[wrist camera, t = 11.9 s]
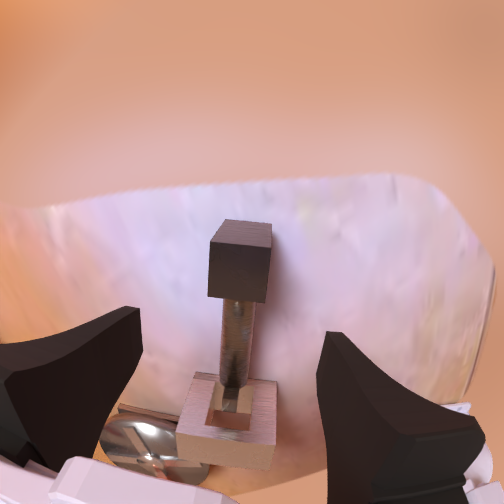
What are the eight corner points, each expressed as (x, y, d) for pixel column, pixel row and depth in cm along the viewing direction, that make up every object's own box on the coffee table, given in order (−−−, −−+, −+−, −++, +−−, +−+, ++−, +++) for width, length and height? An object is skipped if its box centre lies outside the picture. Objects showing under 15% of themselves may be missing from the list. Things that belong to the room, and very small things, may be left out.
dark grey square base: (196, 419, 24) (192, 433, 23) (198, 463, 26) (195, 475, 25) (119, 403, 25) (113, 415, 23) (131, 448, 27) (126, 459, 25)
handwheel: (85, 410, 23) (65, 441, 19) (188, 412, 22) (175, 453, 18) (140, 484, 26) (130, 513, 22) (229, 489, 25) (224, 523, 21)
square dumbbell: (271, 223, 18) (271, 247, 14) (253, 377, 21) (249, 424, 17) (225, 219, 18) (210, 241, 14) (216, 373, 21) (205, 419, 17)
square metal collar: (276, 381, 22) (276, 445, 17) (271, 408, 23) (269, 470, 17) (195, 371, 23) (175, 431, 17) (195, 399, 24) (178, 458, 18)
